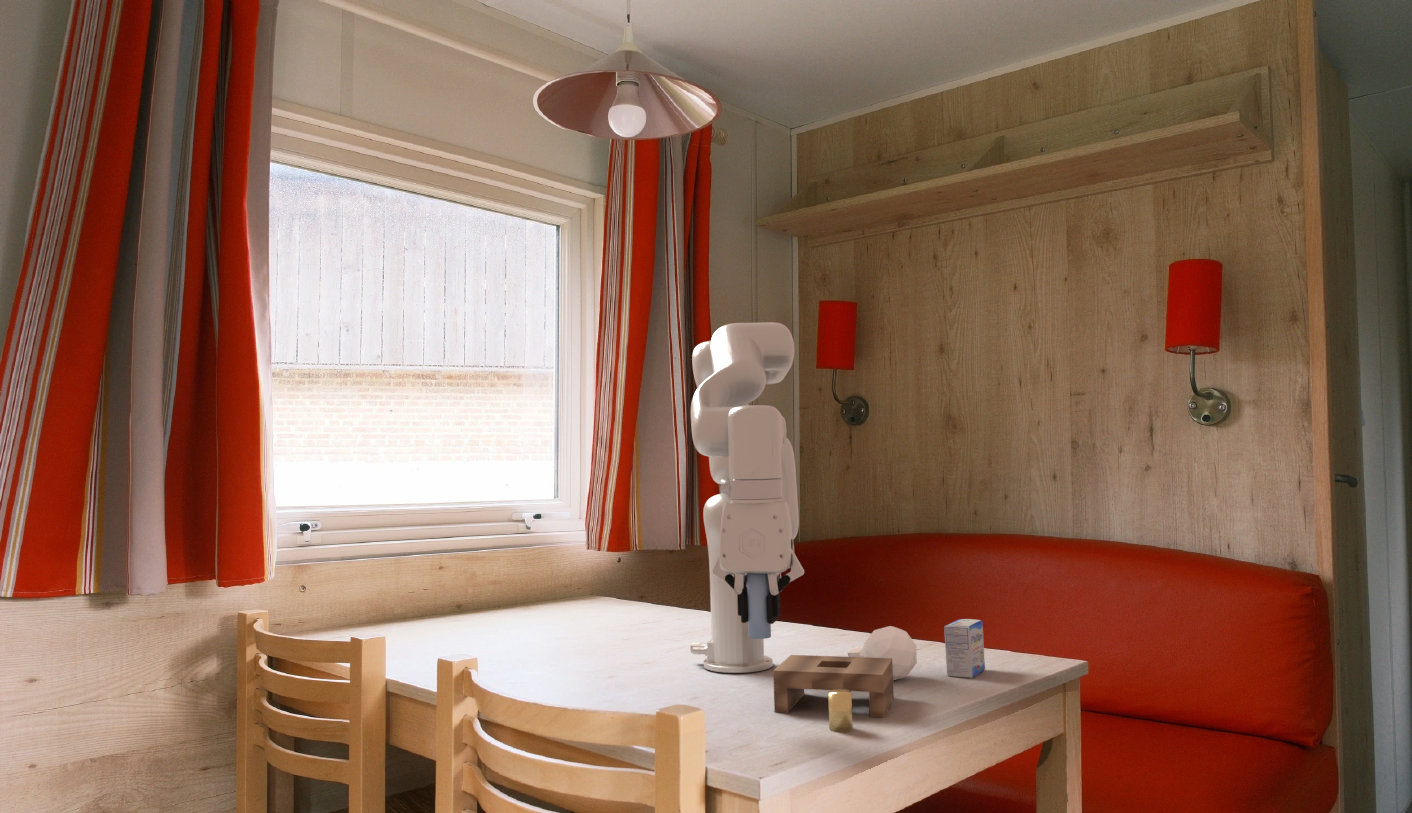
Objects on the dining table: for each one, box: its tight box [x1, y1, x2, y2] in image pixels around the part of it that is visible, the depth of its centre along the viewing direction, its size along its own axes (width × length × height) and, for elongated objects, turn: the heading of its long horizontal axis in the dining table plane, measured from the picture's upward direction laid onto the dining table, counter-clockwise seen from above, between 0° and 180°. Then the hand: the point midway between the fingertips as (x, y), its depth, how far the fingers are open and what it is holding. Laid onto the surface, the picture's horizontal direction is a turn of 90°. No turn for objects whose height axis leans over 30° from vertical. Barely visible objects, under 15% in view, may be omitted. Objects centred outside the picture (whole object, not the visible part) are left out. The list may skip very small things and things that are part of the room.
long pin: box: [747, 573, 772, 640], centre depth 133 cm, size 3×3×9 cm
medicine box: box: [944, 618, 986, 679], centre depth 161 cm, size 8×4×9 cm, turn 148°
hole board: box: [772, 654, 895, 719], centre depth 142 cm, size 16×12×6 cm
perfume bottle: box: [847, 625, 918, 681], centre depth 159 cm, size 9×9×12 cm
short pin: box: [827, 689, 854, 733], centre depth 128 cm, size 3×3×5 cm
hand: (759, 620), depth 133 cm, fingers closed on long pin, 3 cm apart
